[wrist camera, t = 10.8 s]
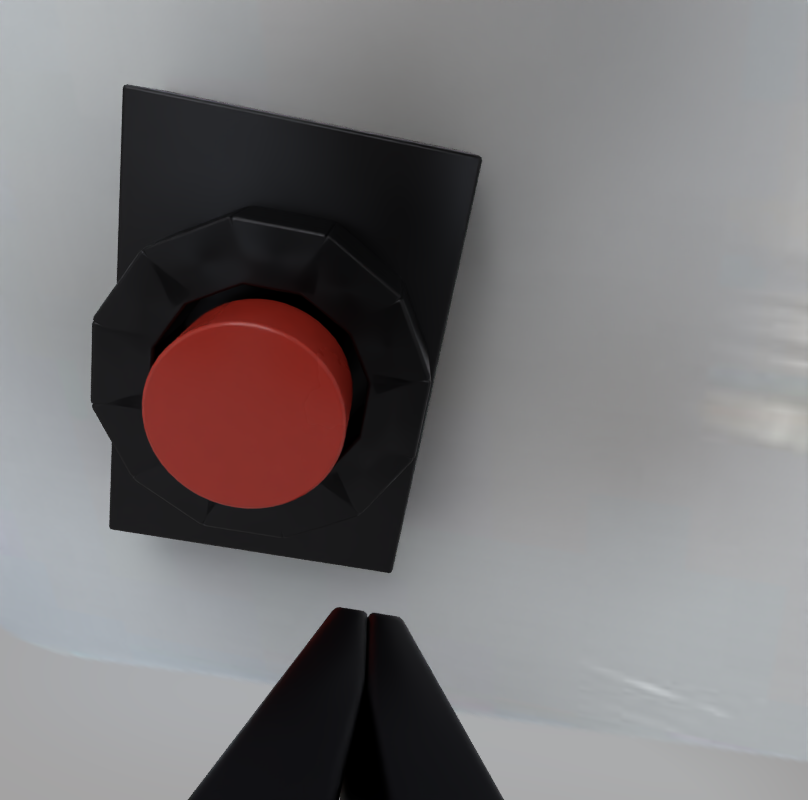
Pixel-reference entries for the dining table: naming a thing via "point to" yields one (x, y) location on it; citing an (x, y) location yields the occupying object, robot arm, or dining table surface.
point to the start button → (249, 404)
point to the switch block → (284, 282)
